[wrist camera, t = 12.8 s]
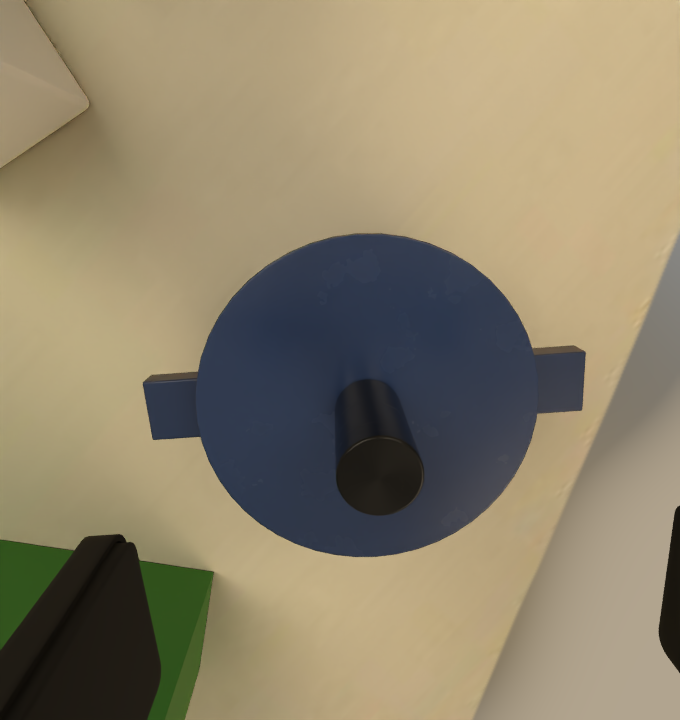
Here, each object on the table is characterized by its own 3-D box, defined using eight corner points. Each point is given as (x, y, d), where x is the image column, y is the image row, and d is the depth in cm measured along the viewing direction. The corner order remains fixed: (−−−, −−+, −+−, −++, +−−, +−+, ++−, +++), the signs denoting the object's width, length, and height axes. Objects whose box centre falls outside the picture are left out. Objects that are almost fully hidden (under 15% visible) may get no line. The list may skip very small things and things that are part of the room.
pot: (181, 248, 26) (111, 263, 18) (517, 224, 26) (604, 228, 18) (212, 456, 29) (165, 551, 21) (512, 435, 29) (584, 522, 21)
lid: (179, 245, 18) (106, 259, 12) (533, 220, 18) (631, 222, 12) (224, 550, 21) (184, 677, 16) (523, 530, 21) (596, 649, 16)
